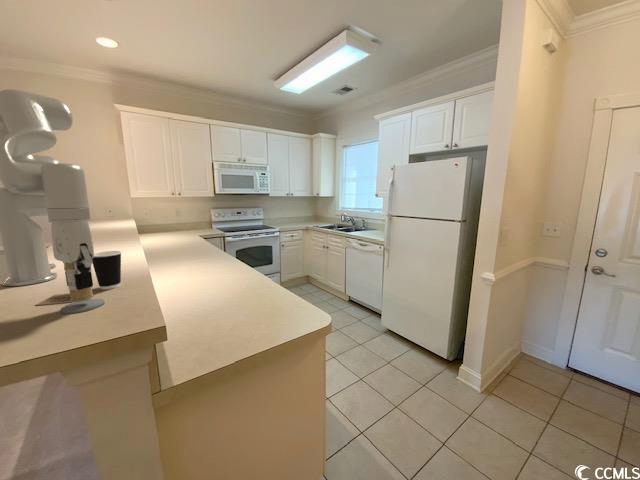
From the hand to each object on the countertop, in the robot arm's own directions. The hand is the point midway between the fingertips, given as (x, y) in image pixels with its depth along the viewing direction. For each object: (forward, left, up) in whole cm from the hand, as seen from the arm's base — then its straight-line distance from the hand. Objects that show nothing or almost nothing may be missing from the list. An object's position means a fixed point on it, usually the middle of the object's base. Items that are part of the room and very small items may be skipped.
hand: (80, 285), depth 67 cm
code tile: (-8, -8, -6) cm, 13 cm away
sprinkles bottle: (0, 0, -4) cm, 4 cm away
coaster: (0, 0, -6) cm, 6 cm away
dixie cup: (-16, 0, -6) cm, 17 cm away
